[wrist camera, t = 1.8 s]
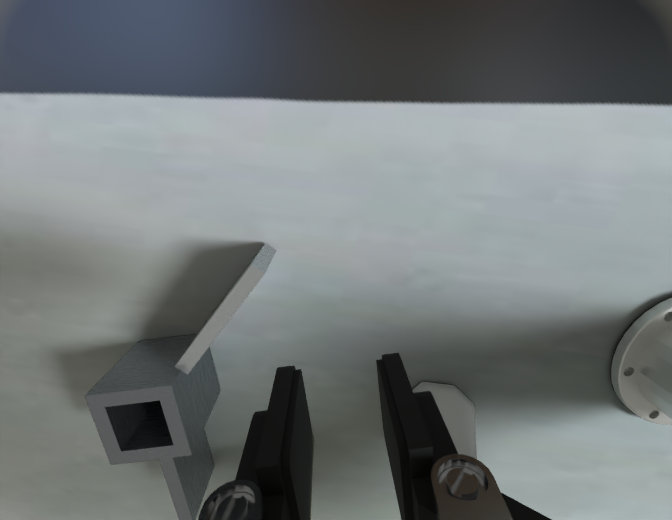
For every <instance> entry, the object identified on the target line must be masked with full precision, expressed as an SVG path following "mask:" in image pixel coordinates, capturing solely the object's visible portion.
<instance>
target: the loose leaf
mask: <svg viewBox="0 0 672 520" xmlns="http://www.w3.org/2000/svg"><path fill="white" fill-rule="evenodd" d="M275 252H276V250H275V249H274V248H272V247H271V246H270V245H268V244H267V243H265V244H264V246H263V247H262V248H261V250H260V251H259V252H258V254H257V255H256V256H255V258H254V259H253V260H252V262H251V263H250V264H249V266H248V267H247V268H246V270H245V271H244V272H243V274H242V275H241V276H240V278H239V279H238V280H237V282H236V283H235V284H234V286H233V287H232V288H231V290H230V291H229V292H228V294H227V295H226V296H225V298H224V299H223V300H222V302H221V303H220V304H219V306H218V307H217V308H216V310H215V311H214V312H213V314H212V315H211V316H210V318H209V319H208V320H207V322H206V323H205V324H204V326H203V327H202V328H201V330H200V331H199V333H198V334H197V336H196V337H195V338H194V340H193V341H192V343H191V344H190V346H189V347H188V348H187V350H186V351H185V353H184V354H183V356H182V357H181V358H180V360H179V361H178V363H177V364H176V366H175V367H176V368H177V369H179V370H181V371H182V372H184V373H186V374H187V375H188V374H189V372H190V371H191V370H192V368H193V367H194V366H195V364H196V363H197V362H198V361H199V359H200V358H201V357H202V355H203V354H204V353H205V351H206V350H207V349H208V347H209V346H210V345H211V344H212V342H213V341H214V340H215V338H216V337H217V336H218V334H219V333H220V332H221V330H222V329H223V328H224V327H225V325H226V324H227V323H228V321H229V320H230V319H231V317H232V316H233V315H234V313H235V312H236V311H237V309H238V308H239V307H240V306H241V304H242V303H243V302H244V300H245V299H246V298H247V296H248V295H249V294H250V292H251V291H252V290H253V289H254V287H255V286H256V285H257V283H258V282H259V281H260V279H261V278H262V277H263V275H264V274H265V272H266V270H267V268H268V266H269V264H270V262H271V260H272V258H273V256H274V254H275Z"/></svg>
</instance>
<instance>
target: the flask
mask: <svg viewBox="0 0 672 520" xmlns="http://www.w3.org/2000/svg"><path fill="white" fill-rule="evenodd" d="M412 391H413V393H415V392H424V391H430V392H431V393H432V395H433V397H434V399H435V402H436V404H437V406H438V408H439V411H440V413H441V415H442V418H443V420H444V422H445V424H446V427H447V429H448V431H449V434H450V436H451V438H452V440H453V443H454V445H455V447H456V450H457V452H458V454H463V455H467V456H470V457H473V458H475V459H477V452H476V437H475V406H474V404H473V403H472V402H471V401H470V400H469V399H468V398H467V397H466V396H465V395H464V394H463V393H462V392H461V391H460V390H459V389H458V388H457V387H455V386H454V385H446V384H438V383H430V382H421V383H420V384H419V385H418V386H416V387H415V388H414V389H413V390H412Z"/></svg>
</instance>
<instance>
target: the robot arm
mask: <svg viewBox="0 0 672 520" xmlns="http://www.w3.org/2000/svg"><path fill="white" fill-rule="evenodd" d="M376 362H377V372H378V382H379V392H380V401H381V411H382V421H383V430H384V436H385V441H386V446H387V451H388V456H389V461H390V466H391V471H392V475H393V480H394V485H395V490H396V495H397V500H398V505H399V509H400V514H401V519H402V520H551V519H549V518H547V517H545V516H544V515H542V514H540V513H538V512H536V511H534V510H532V509H531V508H529V507H527V506H525V505H523V504H521V503H519V502H518V501H516V500H514V499H512V498H510V497H508V496H506V495H504V494H503V493H501V492H500V490H499V487H498V485H497V483H496V481H495V479H494V476H493V475H492V473H491V472H490V470H489V469H488V468H487V467H486V466H485V465H484V464H483V463H482V462H480V461H479V460H477V459H475V458H473V457H470V456H467V455H463V454H458V452H457V450H456V447H455V445H454V443H453V440H452V438H451V436H450V434H449V431H448V429H447V427H446V424H445V422H444V420H443V418H442V415H441V413H440V411H439V408H438V406H437V404H436V402H435V399H434V397H433V395H432V393H431V392H430V391H424V392H415V393H413V391H412V388H411V385H410V382H409V380H408V377H407V374H406V371H405V369H404V366H403V363H402V360H401V358H400V355H399V353H393V354H385V355H382V359H381V360H376ZM611 377H612V384H613V387H614V390H615V393H616V394H617V396H618V397H619V399H620V401H621V402H622V403H623V404H624V405H626V406H627V407H628V408H629V409H630V410H631V411H632V412H634V413H635V414H636V415H638V416H639V417H641V418H643V419H645V420H647V421H650V422H654V423H658V424H665V425H672V297H671V298H669V299H667V300H665V301H663V302H661V303H659V304H657V305H656V306H654V307H653V308H651V309H650V310H648V311H646V312H645V313H644V314H643V315H642V316H641V317H640V318H638V319H637V320H636V321H635V322H634V323H633V324H632V326H631V327H630V328H629V329H628V330H627V331H626V333H625V334H624V336H623V337H622V339H621V341H620V343H619V344H618V346H617V349H616V352H615V354H614V357H613V362H612V368H611ZM312 468H313V435H312V429H311V423H310V417H309V411H308V406H307V400H306V394H305V388H304V382H303V377H302V371H301V369H299V370H296V369H295V366H287V367H279V368H277V371H276V375H275V380H274V384H273V389H272V393H271V397H270V402H269V406H268V410H267V411H259V412H255V413H254V415H253V418H252V421H251V425H250V429H249V432H248V436H247V439H246V443H245V447H244V450H243V454H242V458H241V461H240V465H239V468H238V472H237V476H236V479H235V480H234V481H231V482H228V483H226V484H224V485H222V486H220V487H219V488H217V489H216V490H215V491H214V492H213V493H212V494H211V495H210V496H209V497H208V498H207V500H206V501H205V502H204V505H203V507H202V509H201V511H200V515H199V518H198V520H310V516H311V492H312Z"/></svg>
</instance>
